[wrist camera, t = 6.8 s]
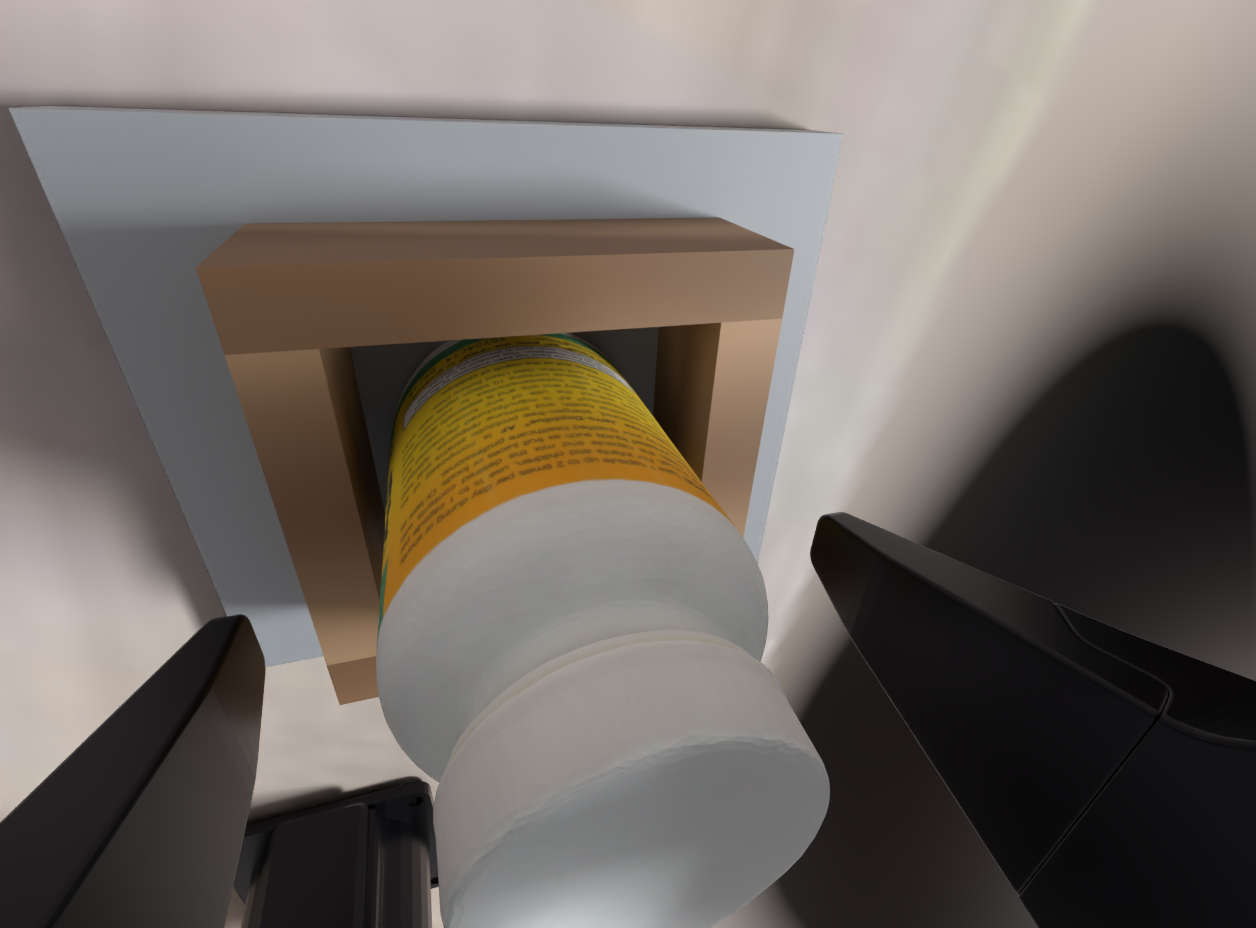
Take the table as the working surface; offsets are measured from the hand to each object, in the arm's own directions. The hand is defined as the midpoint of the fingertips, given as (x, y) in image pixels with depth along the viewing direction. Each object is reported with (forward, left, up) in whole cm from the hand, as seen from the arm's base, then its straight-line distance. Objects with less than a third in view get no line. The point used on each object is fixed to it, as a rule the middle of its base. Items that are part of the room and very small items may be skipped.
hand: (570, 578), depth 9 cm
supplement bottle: (0, 0, -5) cm, 5 cm away
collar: (0, 0, -5) cm, 5 cm away
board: (0, 0, -6) cm, 6 cm away
